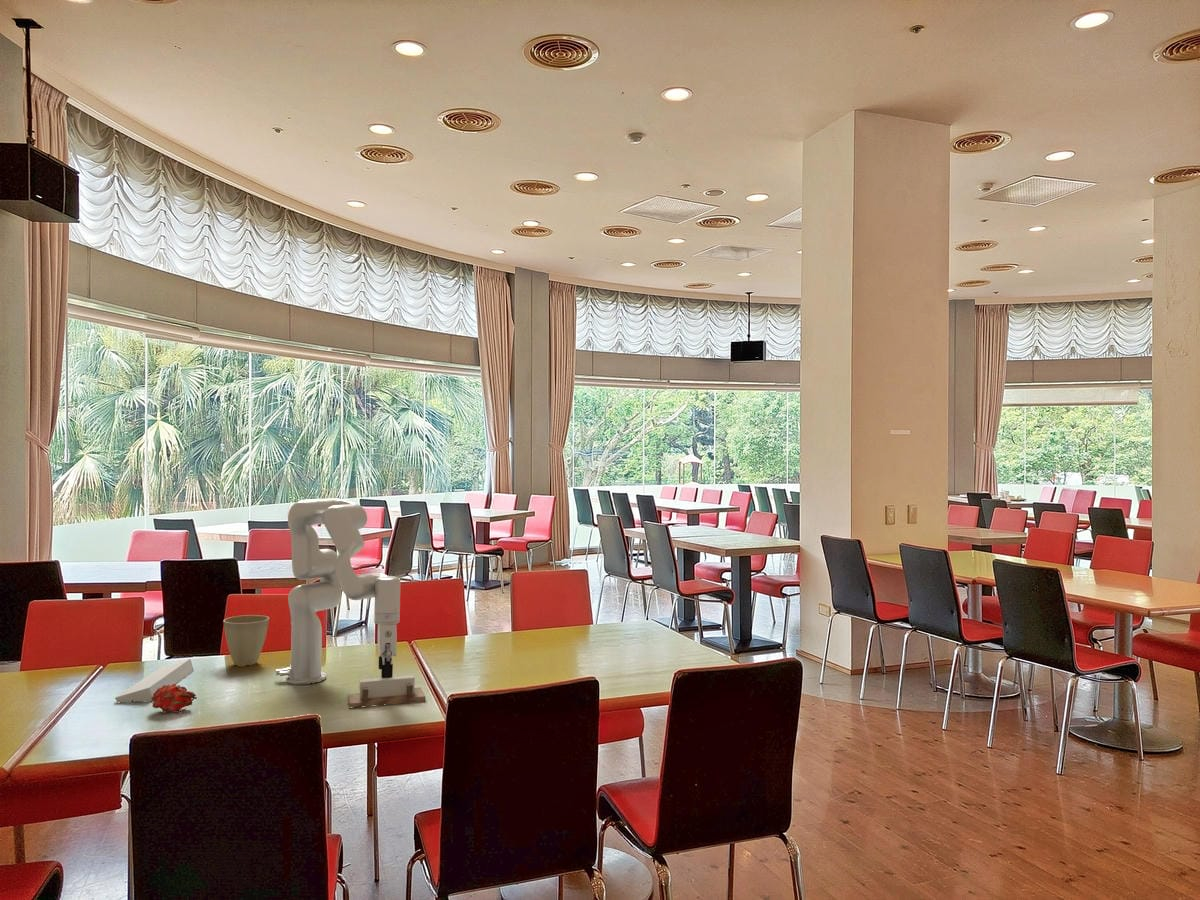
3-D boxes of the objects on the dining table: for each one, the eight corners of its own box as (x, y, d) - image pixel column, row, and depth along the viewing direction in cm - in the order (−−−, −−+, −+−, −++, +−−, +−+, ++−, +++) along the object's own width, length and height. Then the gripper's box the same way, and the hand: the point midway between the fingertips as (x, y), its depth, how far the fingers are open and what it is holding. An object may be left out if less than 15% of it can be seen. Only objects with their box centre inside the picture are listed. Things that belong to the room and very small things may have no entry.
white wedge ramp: (119, 713, 239) (153, 702, 240) (114, 697, 239) (149, 687, 240) (164, 681, 273) (194, 672, 274) (160, 667, 273) (190, 658, 274)
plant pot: (248, 670, 275) (249, 624, 275) (213, 667, 279) (213, 621, 279) (277, 660, 289) (278, 616, 290) (243, 657, 294) (243, 613, 294)
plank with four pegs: (349, 708, 235) (349, 691, 235) (347, 698, 245) (348, 682, 245) (425, 701, 243) (425, 684, 243) (420, 692, 252) (421, 676, 252)
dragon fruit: (148, 717, 231) (193, 720, 234) (143, 707, 225) (189, 710, 227) (157, 688, 236) (201, 692, 239) (153, 677, 230) (198, 681, 232)
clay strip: (360, 698, 240) (360, 682, 240) (359, 696, 243) (359, 679, 243) (414, 693, 245) (414, 677, 245) (413, 691, 248) (413, 675, 248)
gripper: (402, 623, 237) (401, 680, 237) (396, 610, 254) (395, 664, 254) (376, 624, 235) (374, 682, 235) (372, 612, 251) (370, 666, 251)
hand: (385, 673), depth 244 cm, fingers open, 9 cm apart
